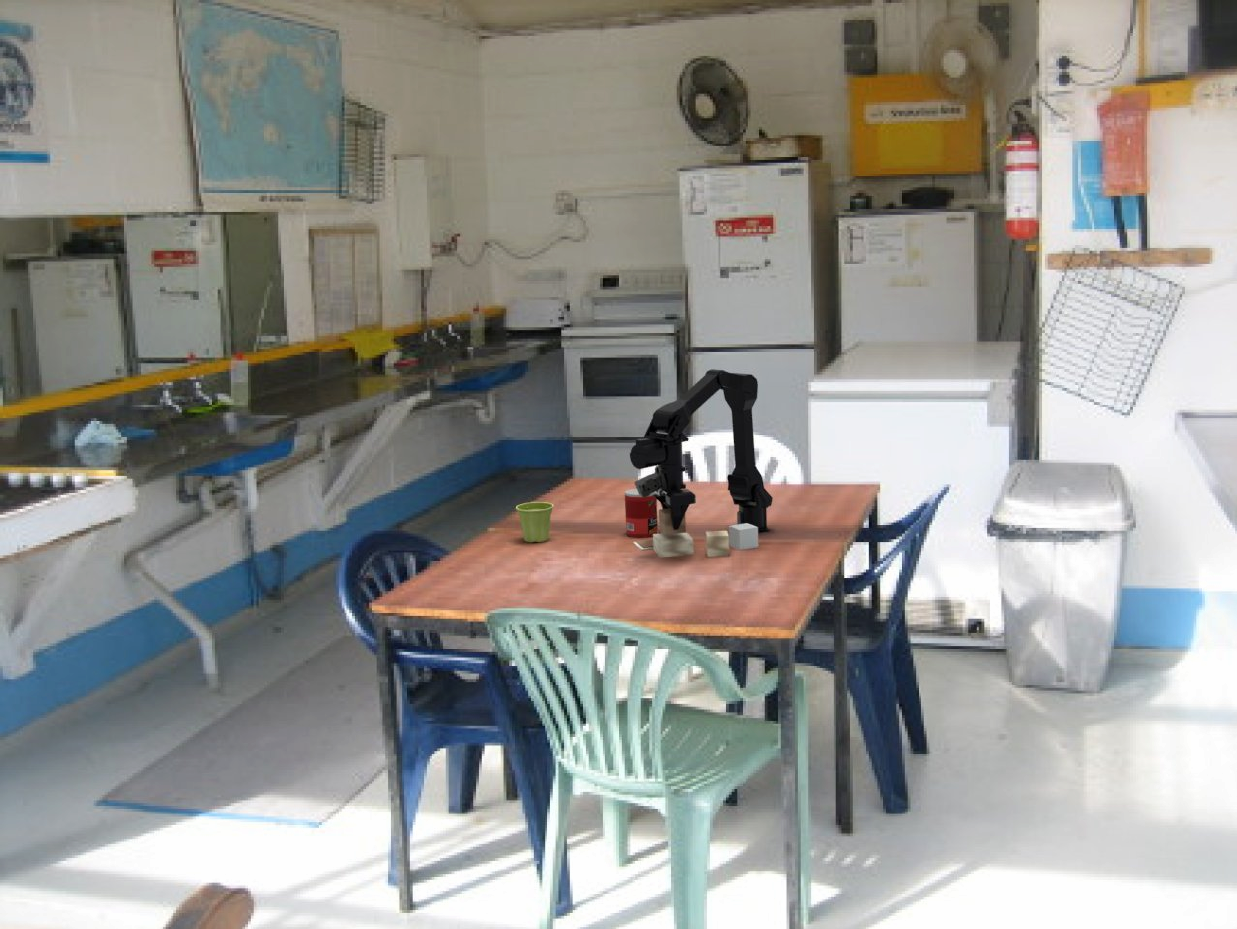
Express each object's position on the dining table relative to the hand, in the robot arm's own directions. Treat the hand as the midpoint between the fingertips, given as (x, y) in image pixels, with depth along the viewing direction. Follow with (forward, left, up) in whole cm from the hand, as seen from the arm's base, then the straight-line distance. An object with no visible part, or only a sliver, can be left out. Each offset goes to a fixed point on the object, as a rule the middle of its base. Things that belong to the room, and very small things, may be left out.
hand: (672, 527), depth 314 cm
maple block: (-9, +6, -6) cm, 12 cm away
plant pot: (+28, -25, -6) cm, 38 cm away
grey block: (-17, +2, -6) cm, 18 cm away
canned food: (+2, -20, -6) cm, 21 cm away
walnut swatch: (+3, -8, -6) cm, 10 cm away
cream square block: (0, 0, -6) cm, 6 cm away
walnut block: (0, 0, -1) cm, 1 cm away
